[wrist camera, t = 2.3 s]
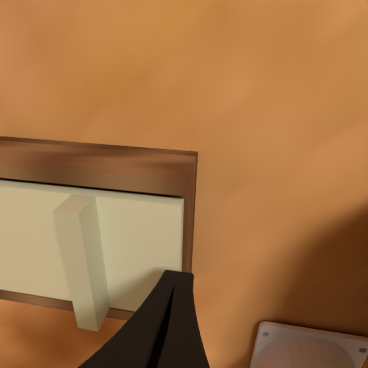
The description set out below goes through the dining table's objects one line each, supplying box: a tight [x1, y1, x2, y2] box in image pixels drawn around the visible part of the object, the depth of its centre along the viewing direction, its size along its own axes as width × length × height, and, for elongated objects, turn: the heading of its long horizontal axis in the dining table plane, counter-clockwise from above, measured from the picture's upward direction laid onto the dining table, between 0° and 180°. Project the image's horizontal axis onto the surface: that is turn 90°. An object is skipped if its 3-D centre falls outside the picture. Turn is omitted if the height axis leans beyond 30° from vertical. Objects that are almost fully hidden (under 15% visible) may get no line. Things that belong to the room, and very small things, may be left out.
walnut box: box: [0, 136, 198, 320], centre depth 17 cm, size 13×10×4 cm
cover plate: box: [0, 180, 184, 332], centre depth 14 cm, size 13×8×2 cm, turn 88°
